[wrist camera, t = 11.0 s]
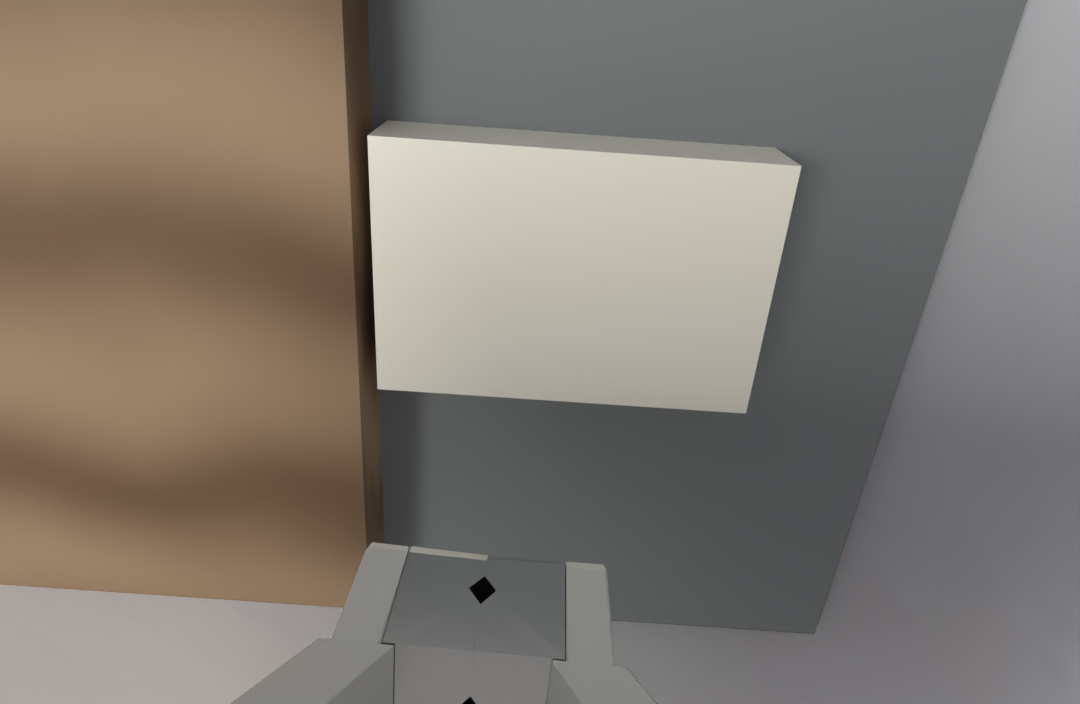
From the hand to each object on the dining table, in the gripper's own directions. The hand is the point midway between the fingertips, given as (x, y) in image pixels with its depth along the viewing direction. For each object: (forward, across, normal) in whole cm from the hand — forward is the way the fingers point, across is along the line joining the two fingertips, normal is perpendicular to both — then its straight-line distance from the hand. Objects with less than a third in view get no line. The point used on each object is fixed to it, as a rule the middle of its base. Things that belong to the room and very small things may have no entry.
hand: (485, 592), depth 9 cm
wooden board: (+10, +11, -1) cm, 15 cm away
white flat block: (+10, -1, -2) cm, 10 cm away
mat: (+11, -3, -1) cm, 11 cm away
